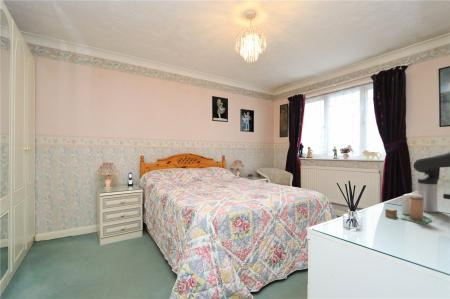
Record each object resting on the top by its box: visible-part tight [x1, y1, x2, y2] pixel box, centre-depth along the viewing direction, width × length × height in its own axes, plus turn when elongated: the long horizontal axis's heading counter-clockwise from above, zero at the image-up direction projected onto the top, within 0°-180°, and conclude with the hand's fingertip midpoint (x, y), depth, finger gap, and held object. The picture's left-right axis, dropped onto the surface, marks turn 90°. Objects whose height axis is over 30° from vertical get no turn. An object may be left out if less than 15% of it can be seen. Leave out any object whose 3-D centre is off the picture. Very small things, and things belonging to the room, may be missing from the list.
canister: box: [408, 196, 424, 221], centre depth 119 cm, size 6×6×12 cm
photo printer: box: [401, 193, 422, 216], centre depth 131 cm, size 10×4×12 cm, turn 84°
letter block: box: [384, 208, 398, 219], centre depth 126 cm, size 4×4×4 cm
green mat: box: [400, 215, 433, 225], centre depth 119 cm, size 10×10×1 cm
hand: (446, 195), depth 109 cm, fingers open, 8 cm apart
